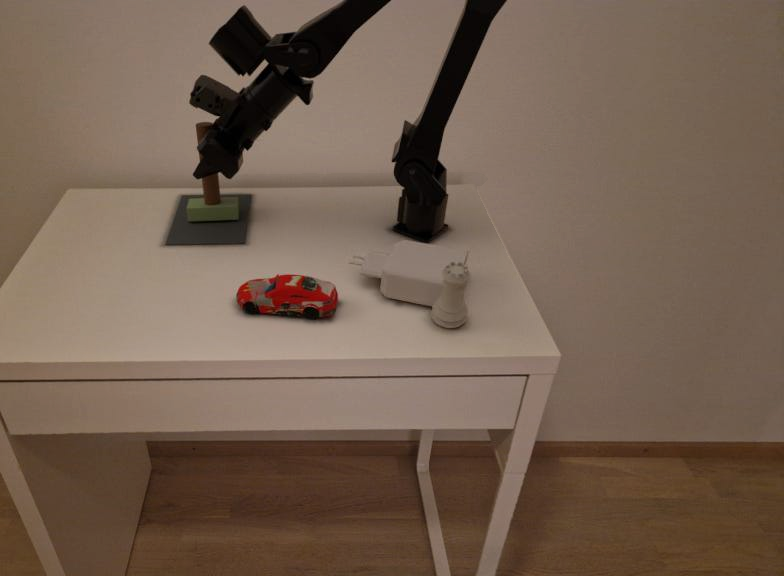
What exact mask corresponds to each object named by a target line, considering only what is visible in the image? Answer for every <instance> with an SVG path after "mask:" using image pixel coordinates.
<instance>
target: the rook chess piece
mask: <svg viewBox="0 0 784 576" xmlns="http://www.w3.org/2000/svg"><path fill="white" fill-rule="evenodd" d="M462 264H463V262H461V261H459V262H458V264H455V261H451V262H450V264H447V265H446V268H444V269H443V271H442V276H443V278H444V280H443V282H442V285H443V290H442V293H441V296H440V297H439V298H438V300H436V301H435V303H434V305H433V306H431V308H432V310H431V311H430V317H431V318H432V320H433V322H434V323H435V324H437V325H438V326H439V327H442V328H445V329H454V328H455V329H456V328H459V327H460V326H462V325H463V324H465V323H466V321H467V319H468V305H467V304H466V300H465V299H464V291H465V289H466V287H467V281H469V279H470V278H471V273H470V271H469V269H468V267H469V266H468V264H467V263H466V264H465V265H464V266H463V265H462Z"/></svg>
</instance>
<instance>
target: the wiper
mask: <svg viewBox="0 0 784 576" xmlns="http://www.w3.org/2000/svg"><path fill="white" fill-rule="evenodd" d="M213 123H214V122H210V121H201V122H197V123H195V132H196V142H197V146H198V145H199V143H200V142H201V140H202V139H203V138H204V136H205V135H206V133H208V132H209V131H210V130H214V127H213ZM202 157H203V156H202V155H201V154H200V153H199V152H198V159H199V161H200V160H201V159H202ZM201 184H202V185H201V186H202V192H203V195H204V198H195V199H189V201H188V205H187V208H186V210H187V217H188V222H190V221H216V220H238V218H239V201H238V197H222V198H220V195H221V190H220V189H221V188H220V180H219V173H216V174H213V175H210V176H207V177H204V178H201Z"/></svg>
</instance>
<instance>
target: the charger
mask: <svg viewBox="0 0 784 576" xmlns="http://www.w3.org/2000/svg"><path fill="white" fill-rule="evenodd" d="M468 255H469V250H467V249H460V248H455V247H454V248H453V247H449V246H444V245H443V246H442V245H437V244H431V243H427V242H421V241H420V242H419V241H414V240H408V239H402V240H400V241H398V242H396V243H395V244H394V245H393V247H392V249H391V251H390V253H385V252H379V251H374V250H368V251H367V253H366V255H359V254H353V255H352V259H353V258H354V259H358V260H363V261H362V262H361V261H356V260H349V261H348V264H349V265H355V266H360V269H359V274H360V275H363V276H367V277H372V278H375V279H376V278H377V279H381V280H380V287H379V288H380V292H381V294H383V296H384V297H385V298H389V299H393V300H398V301H403V302H406V303H407V302H408V303H412V304H417V305H423V306H427V307H432V306H433V305H434V303H435V301H436V300H438V298H439V297H440V296H441V293H442V290H443V285H442V282H443V280H444V278H443V276H442V271H443V269H444V268H446V265H447V264H450V262H451V261H455V264H458V262H459V261H461V262H463V264H462V265H463V266H464V265H465V264H466V265H467V261H468V257H469V256H468Z"/></svg>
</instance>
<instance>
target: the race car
mask: <svg viewBox="0 0 784 576" xmlns="http://www.w3.org/2000/svg"><path fill="white" fill-rule="evenodd" d="M236 302H237V305H238V306H239V308H241V309H242V310H244V311H245V312H246V313H247V314H249V315H254V314H258V311H259V313H263V314H272V315H273V314H275V315H286V316H297V317H303V316H304V317H305V318H307V319H308V320H315V319H317V318H318V317H319V318H323V317H327V316H331V315H333V314H334V313H335V312H336V311H337V307H338V302H339V293H338V290H337V288H336V285H335V284H333V283H332V282H330V281H326V280H323V279H319V278H316V277H312V276H308V275H302V274H289V273H288V274H279V273H277V274H276V275H275V276H274V277H269V278H255V279H250V280H247V281H246V282H244V283H243V284H241V285H240V286H239V287H238V290H237V291H236Z"/></svg>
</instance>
